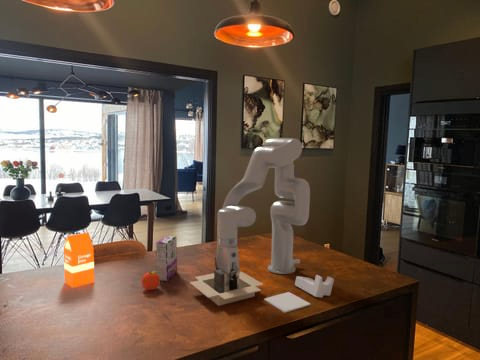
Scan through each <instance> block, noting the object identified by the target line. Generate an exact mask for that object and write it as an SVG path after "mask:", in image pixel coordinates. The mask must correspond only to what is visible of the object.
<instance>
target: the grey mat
mask: <svg viewBox="0 0 480 360" xmlns="http://www.w3.org/2000/svg"><path fill="white" fill-rule="evenodd" d="M263 300H264V301H265V302H266V303H268V304H270V305H271V306H273V307H274V308H276V309H278V310H279V311H280V312H282V313H284V314H287V313H289V312H292V311H293V312H294V311H296V310H299V309H302V308H306V307H309V306H311V303H310V302H308V301H306V300H304V299H303V298H301V297H299V296H297V295H295V294H294V293H291V292H290V291H287V292H283V293H280V294H276V295H272V296H269V297H265V298H264V297H263Z"/></svg>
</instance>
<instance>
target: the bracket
mask: <svg viewBox="0 0 480 360" xmlns="http://www.w3.org/2000/svg"><path fill="white" fill-rule="evenodd" d="M295 277H296V278H295V281H294V286H296V287H298V288H300V290H303V291H304V292H306V293H308V294H310V295H311V296H313V297H315V298H323V297H324V296H331V295H332V289H333V285H334V281H335V279H334V277H331V276H327V277H326V280H324V281H323V277H322V276H320V275H318V274H316V275H315V277H314V279H313V278H311V277H307V276H306V277H305V276H298V275H296V276H295Z"/></svg>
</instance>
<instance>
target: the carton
mask: <svg viewBox="0 0 480 360" xmlns="http://www.w3.org/2000/svg"><path fill="white" fill-rule="evenodd" d="M194 278H195V281H194V280H193V281H189V284H190V285H191V286H193V287H194V288H195V289H197V290H198V291H199V292H200V293H202V294H203V295H204V296H205V297H207V299H209V300H211V301H212V303H214V304H215V305H217V306H223V305H227V304H230V303H235V302H239V301H242V300H246V299H249V298H254V297H255V296H256V295H255V294H256V293H258V292H261V291H262V289H260V288H259V287H260V286H264V283H262V282H261V281H259V280H257V279H255V278H254V277H252V276H250V275H248V274H246V273H245V272H243V271H240V274H239V289H237V290H233V291H229V292H224V293H220V294H219V293H218V292H217V291H215V290H214V273H212V272H211V273H208V274H203V275H199V276H194Z"/></svg>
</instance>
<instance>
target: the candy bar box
mask: <svg viewBox="0 0 480 360" xmlns="http://www.w3.org/2000/svg"><path fill="white" fill-rule="evenodd" d="M177 242H178V241H177V236H175V235H166V236H164V237H163V238H161V239H160V240H157V242H156V243H155V246H156V247H155V248H156V249H155V250H156V273H157V274H158V275H159V277H160V282H161V281H162V282H169V280H170V279H171V278H173V276H174V275H175V274H177V272H178V255H177V254H178V252H177V251H178V250H177V245H178V244H177ZM158 272H159V273H158ZM160 274H161V275H160Z"/></svg>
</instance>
